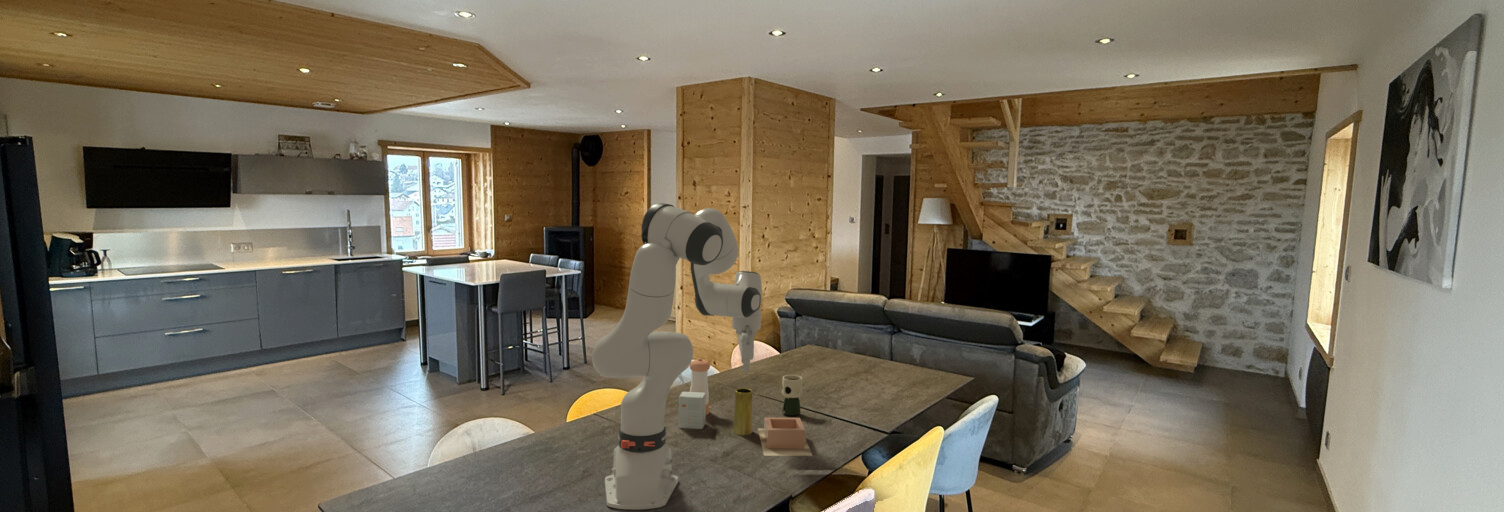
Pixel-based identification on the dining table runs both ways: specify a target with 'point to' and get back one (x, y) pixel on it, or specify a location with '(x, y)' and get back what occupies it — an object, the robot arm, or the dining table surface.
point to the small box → (692, 410)
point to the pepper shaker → (700, 378)
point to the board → (783, 449)
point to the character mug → (792, 394)
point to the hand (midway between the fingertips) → (745, 366)
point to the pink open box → (784, 433)
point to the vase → (743, 411)
